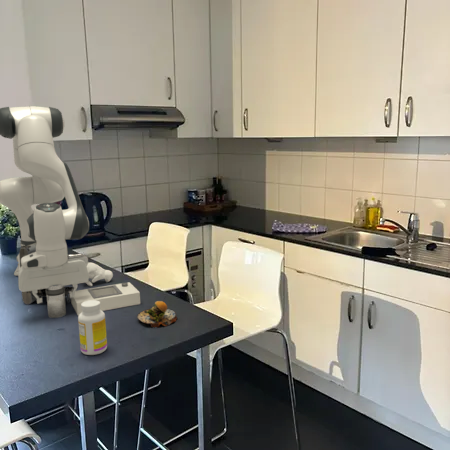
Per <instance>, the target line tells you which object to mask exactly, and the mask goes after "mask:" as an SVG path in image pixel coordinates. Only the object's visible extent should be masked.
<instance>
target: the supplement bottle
mask: <svg viewBox="0 0 450 450" xmlns="http://www.w3.org/2000/svg"><path fill="white" fill-rule="evenodd" d="M81 309H82V313H80V314H79V315H77V316H78V317H77V322H78V332H79V334H78V335H79V344H80V345H79V346H80V347H79V348H80V351H81V353H82V354H84V355H86V356H87V355H88V356H94V355H95V356H96V355H100V354H102V353H103V352H105V351H106V350H107V349H108V340H107V325H106V324H107V323H106V314H105V312H104V311H102V310H100V302H99V301H97V300H90V301H85V302H83V303H82V304H81Z"/></svg>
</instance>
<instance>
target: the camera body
mask: <svg viewBox="0 0 450 450" xmlns="http://www.w3.org/2000/svg"><path fill="white" fill-rule="evenodd" d="M74 295H75V298H70V302H71V305H72V307H73V309H74V311H75V313H76V315H77V316H79V314H80V313H82V309H81V304H82V303H83V302H85V301H90V300H97V301H99V302H100V310H102V311H103V312H104V311H109V310H114V309H119V308H127V307H131V306H137V305H141V292H140V291H139V290H138V289H137V288H136V287H135V286H134V285H133V284H132V283H131V282H122V283H116V284H110V285H104V286H98V287H91V288H84V289H77V290H76V291H75V292H74Z"/></svg>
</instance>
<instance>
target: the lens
mask: <svg viewBox="0 0 450 450" xmlns="http://www.w3.org/2000/svg"><path fill="white" fill-rule="evenodd" d="M64 287H65V286H62V285H53V286H49V288H46V295H47V297H46V302H47V303H46V305H47V315H48V318H51V319H53V318H54V319H55V318H57V319H58V318H62V317H64V316H65V315H67V307H66V297H65V294H64V293H65V288H64Z"/></svg>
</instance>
